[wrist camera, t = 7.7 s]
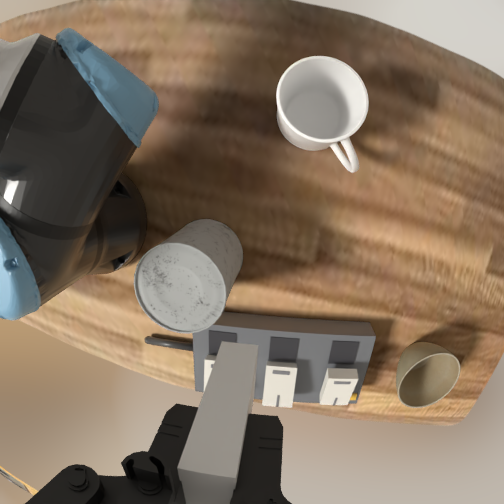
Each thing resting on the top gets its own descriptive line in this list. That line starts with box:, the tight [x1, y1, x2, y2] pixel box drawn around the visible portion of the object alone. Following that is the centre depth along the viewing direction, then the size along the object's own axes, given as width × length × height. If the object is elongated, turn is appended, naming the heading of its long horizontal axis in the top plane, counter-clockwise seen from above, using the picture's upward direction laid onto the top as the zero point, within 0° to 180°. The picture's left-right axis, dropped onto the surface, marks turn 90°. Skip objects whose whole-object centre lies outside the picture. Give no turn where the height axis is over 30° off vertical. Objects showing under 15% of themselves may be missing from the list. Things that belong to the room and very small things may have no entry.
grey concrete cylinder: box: [134, 219, 243, 334], centre depth 36 cm, size 10×10×12 cm
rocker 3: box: [319, 368, 358, 405], centre depth 39 cm, size 4×6×2 cm, turn 177°
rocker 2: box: [262, 361, 297, 408], centre depth 40 cm, size 4×6×2 cm, turn 177°
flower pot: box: [396, 342, 460, 408], centre depth 40 cm, size 10×10×7 cm
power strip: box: [145, 311, 376, 403], centre depth 43 cm, size 33×12×4 cm, turn 87°
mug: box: [276, 56, 369, 173], centre depth 30 cm, size 12×8×12 cm
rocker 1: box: [204, 354, 217, 391], centre depth 41 cm, size 4×6×2 cm, turn 177°
